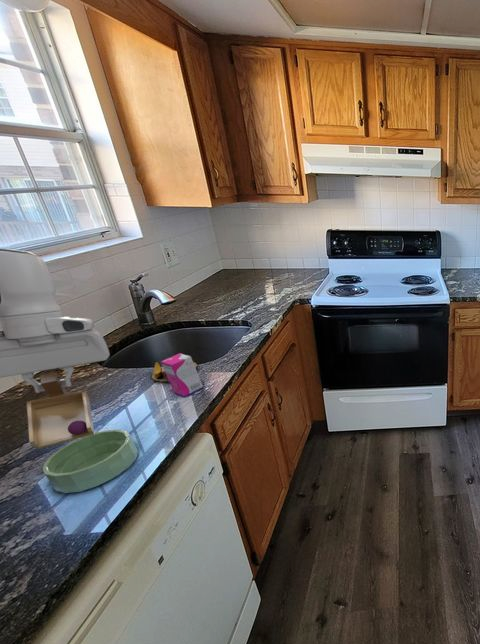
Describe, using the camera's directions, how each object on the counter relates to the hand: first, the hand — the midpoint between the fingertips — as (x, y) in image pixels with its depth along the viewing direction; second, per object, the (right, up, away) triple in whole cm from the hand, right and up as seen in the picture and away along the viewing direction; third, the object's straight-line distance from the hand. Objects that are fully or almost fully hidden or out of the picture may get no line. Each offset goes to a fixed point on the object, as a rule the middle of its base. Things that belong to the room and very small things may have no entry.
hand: (54, 389), depth 79 cm
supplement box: (+6, -5, +33) cm, 34 cm away
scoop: (0, -7, +2) cm, 7 cm away
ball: (+5, -8, 0) cm, 10 cm away
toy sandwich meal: (-5, -1, +43) cm, 44 cm away
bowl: (+6, -19, +4) cm, 20 cm away
